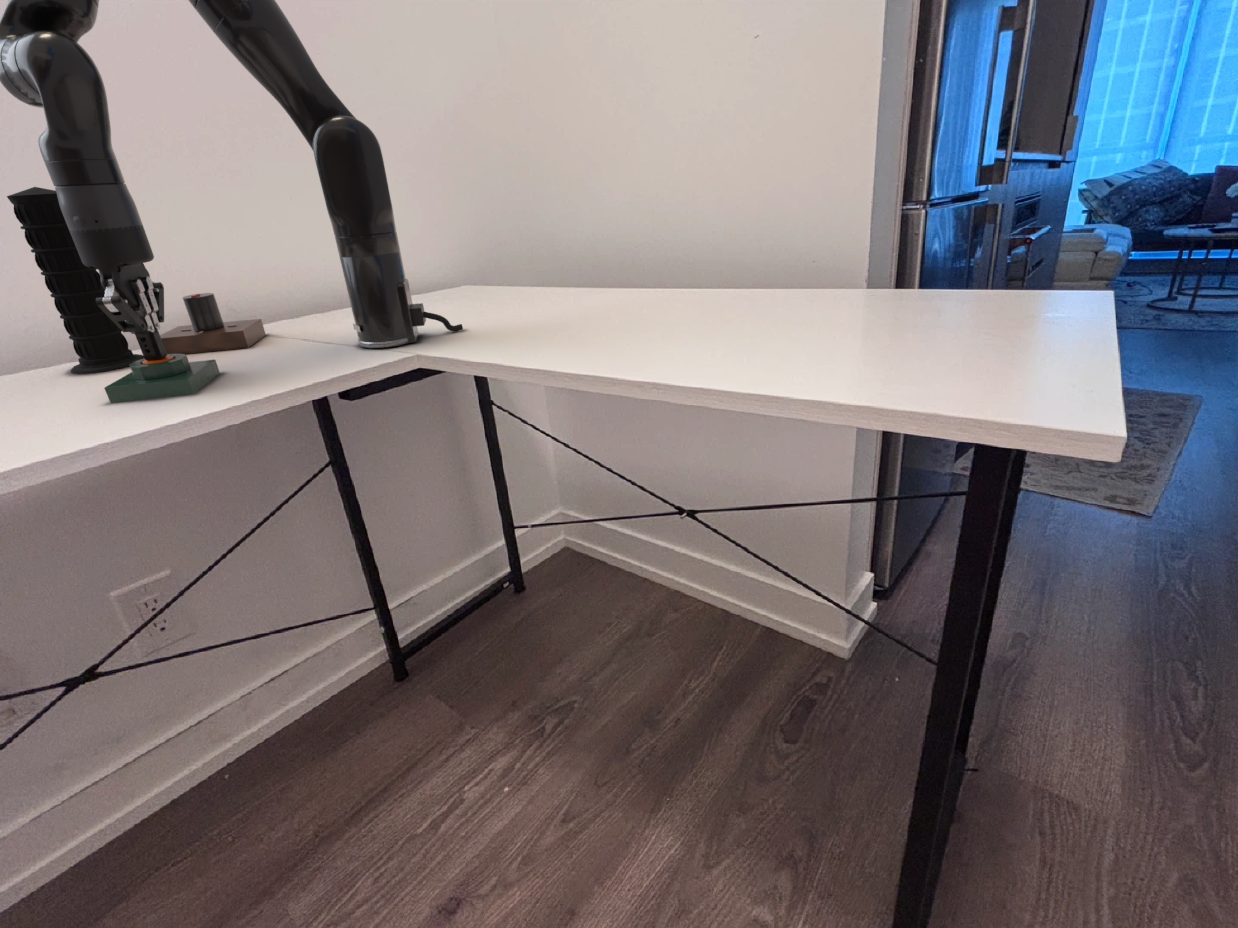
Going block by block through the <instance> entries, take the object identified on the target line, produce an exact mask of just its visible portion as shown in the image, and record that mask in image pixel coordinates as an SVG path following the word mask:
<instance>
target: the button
mask: <svg viewBox="0 0 1238 928" xmlns="http://www.w3.org/2000/svg"><path fill="white" fill-rule="evenodd" d="M173 359H174V357H173V356H166V357H165V358H163V359H161V360H153V361H147V360H144V361H143V362H142V363H143V365H148V364H157V363H162V362H167V361H170V360H173Z"/></svg>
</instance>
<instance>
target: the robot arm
mask: <svg viewBox="0 0 1238 928" xmlns="http://www.w3.org/2000/svg"><path fill="white" fill-rule="evenodd" d="M188 2H189V3H190V5H191V6H192V7H193V8H194V10H195V11H196V12H197V14H198V15H199V16H200V17H201V19H202V20H203V21H204V22H205V23H206V25H207V26H208V27H209V29H210V30H211V31H212V32H213V34H214V35H215V36H216V37H217V39H219V41H220V42H221V43H222V44H223V45H224V47H225V48H226V49H227V50H228V51H229V52H230V53H231V55H232V56H233V57H234V58H235V59H236V60H237V61H238V62H239V63H240V64H241V66H242V67H243V68H244V69H245V70H246V71H247V72H248V73H249V74H250V75H251V76H252V78H254V79H255V80H256V81H257V82H258V83H259V84H260V86H262V87H263V89H265V90H266V91H267V92H268V93H269V94H270V95H271V96H272V97H273V98H274V99H275V101H277V103H278V104H279V105H280V106H281V108H282V109H283V110H284V111H285V112H286V114H287V115H288V116H289V118H290V119H291V121H293V124H295V126H296V127H297V129H298V130H299V132H300V134H301V135H302V136H303V138H304V139H305V140H306V143H307V144H308V145H309V147H310V148H311V150H312V152H313V156H314V162H315V166H316V169H317V174H318V178H319V182H320V186H321V190H322V194H323V198H324V202H325V207H326V211H327V215H328V218H329V220H330V223H331V227H332V231H333V235H334V240H335V244H336V248H337V252H338V256H339V261H340V265H341V269H342V273H343V278H344V282H345V285H346V291H347V295H348V299H349V305H350V308H351V311H352V317H353V320H354V323H352V327H353V330H355V331H356V334H357V337H358V344H359V346H360V347H362V348H366V349H385V348H391V347H398V346H403V345H407V344H413V343H416V342H417V340H418V337H419V330H418V329H419V328H418V327H423V326H425V325H426V321H427V319H428V320H434V321H437V322H440V323H442V324H443V325H444V327H445V328H446V329H447V330H448V331H449V332H452V333H453V332H460V331H463V330H464V329H463V328H464V326H463V324H462V323H459V324H456V325H452V324H451V323H450V321H449V320H448V319H447V318H446V317H444V316H442V315H440V314H437V313H432V312H428V311H425V307H424V303H423V302H422V303H413V299H412V294H411V288H410V283H409V279H408V278H406V274H405V273H406V272H405V269H404V264H403V263H404V261H403V258H402V253H401V248H400V243H399V237H398V232H397V226H396V220H395V215H394V209H393V204H392V199H391V194H390V193H391V192H390V189H389V183H388V178H387V172H386V167H385V161H384V157H383V152H382V148H381V144H380V141H379V140H378V138H377V136H376V135H375V133H374V132H373V130H372V129H371V128H370V127H369V126H368V125H367V124H365V123H364V122H362V121H361V120H359V119H358V118H356V116H354V114H353V113H352V112H351V111H350V110H349V108H348V107H347V106H346V105H345V103H344V102H343V101H342V100H341V99H340V98H339V97H338V96H337V94H336V93H335V92H334V91H333V90H332V88H331V87H330V86H329V85H328V83H327V82H326V80H325V79H324V78H323V76H322V75H321V73H320V71H319V70H318V68H317V67H316V65H315V63H314V61H313V60H312V58H311V56H310V55H309V53H308V51H307V49H306V47H305V46H304V44H303V42H302V41H301V39H300V37H299V35H298V34H297V32H296V30H295V29H294V28H293V27H294V26H292V24H291V22H290V21H289V19H288V18H287V16H286V15H285V13H284V11H283V10H282V8H281V7H280V6H279V4H278V3H277V1H276V0H188ZM99 6H100V0H7V1H6V5H5V7H4V9H3V12H2V14H1V16H0V83H1V85H2V86H3V87H4V88H5V90H6V91H7V92H8V93H9V94H10V95H11V96H13V97H14V98H15V99H17V100H19V101H20V102H22V103H24V104H25V105H28V106H31V107H35V108H39V109H43V112H44V118H45V120H46V121H45V122H46V127H45V130H44V131H43V132H41V134H40V135H39V137H38V140H37V141H38V142H37V143H38V147H39V151H40V154H41V157H42V160H43V162H44V165H45V168H46V170H47V172H48V175H49V177H50V180H51V182H52V184H53V186H54V190H55V191H56V193H57V197H58V201H59V205H60V208H61V211H62V214H63V216H64V219H65V221H66V224H67V226H68V229H69V231H70V233H71V236H72V238H73V241H74V243H75V246H76V248H77V251H78V253H79V256H80V258H81V261H82V263H83V264H84V265H85V266H86V267H90V268H94V267H95V268H97V270H98V273H99V274H100V279H101V284H102V286H103V288H104V289H105V295H104V297H99V298H96V304H97V305H98V307H99V308H100V309H101V310H102V311H103V312H104V313H105V314H106V315H107V316H108V317H109V318H110V319H111V320H112V321H113V322H114V323H115V324H116V325H117V326H118V327H119V328H120V329H121V330H122V332H123V333H130V334H132V335H134V336H135V338H136V340H137V343H138V346H139V348H140V351H141V355H143V356H144V359H145V360H147V361H153V360H161V359H163V358H165V357H166V356H167V353H166V351H165V348H164V345H163V343H162V340H161V337H160V335H161V334H160V332H159V330H160V329H161V324H160V323H164V322H165V287H164V284H163V283H162V281H161V282H160V281H159V282H154V281H152V279H151V274H150V272H149V270H148V269H147V268H146V266H145V263H149V262H152V261H153V260H154V258H155V256H154V253H153V250H152V246H151V243H150V242H149V238H148V235H147V233H146V230H145V227H144V224H143V222H142V219H141V216H140V213H139V210H138V208H137V204H136V202H135V200H134V198H133V196H132V195H131V192H130V190H129V188H128V186H127V184H126V181H125V179H124V176H123V175H124V174H123V173H122V170H121V167H120V164H119V161H118V159H117V155H116V153H115V150H114V149H113V148H114V147H113V145H112V128H111V121H110V120H111V119H110V112H109V102H108V97H107V96H108V95H107V91H106V87H105V83H104V80H103V77H102V74H101V73H100V71H99V68H98V66H97V65H96V63H95V61H94V59H93V58H92V56H91V55H90V54H89V53H88V52H87V51H86V50H85V49H84V47H83V46H82V45H80V43H78V42H79V41H80V39H81V38H82V37H83V36H85V35H87V33H89V32H91V31H92V29H94V26H95V24H96V22H97V17H98V12H99Z"/></svg>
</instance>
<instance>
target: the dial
mask: <svg viewBox="0 0 1238 928" xmlns="http://www.w3.org/2000/svg"><path fill="white" fill-rule="evenodd" d="M182 300H183V303H184V305H185V309H186V312H187V315H188V317H189V320H190V324H191V325H192V326H193V329H194V331H208V330H214V329H218V328H222V327H224V323H223V322H224V321H223V318H222V315H221V311H220V308H219V306H218V302H217V299H216V296H215V294H214V292H201V293H195V294H188V295H185V296H182Z"/></svg>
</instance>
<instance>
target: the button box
mask: <svg viewBox="0 0 1238 928" xmlns="http://www.w3.org/2000/svg"><path fill="white" fill-rule="evenodd" d="M167 356H173V357H174V359H173V360H170V361H167V362H162V363H157V364H148V365H143V363H142V362H143V361H144V360H145V359H141V360H137V361H135V362H133V363H131V364H129V366H130V367H129V368H130V370H131V372H129V373H128V374H125V375H124V376H122V377H120V378H119V379H117V380H115V381H114V382H113V381H112V383H110V384H107V386H104V388H103V389H104V391H105V393H106V396H107V398H108V400H109V403H110V404H117V403H126V402H134V401H136V402H137V401H144V400H145V401H146V400H153V399H163V398H164V399H165V398H172V397H173V398H174V397H181V396H190V395H195V394H196V393H197V392H198V391H200V390H201V389H202V388H203V387H205V386H207V384H209V383H210V382H211V381H213V380H214V379H215V378H216V377H218V376H219V375H220V374H221V372H220V369H219V366H218V363H217V360H216V359H206V360H197V361H189V359H188V356H187V354H167Z"/></svg>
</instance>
